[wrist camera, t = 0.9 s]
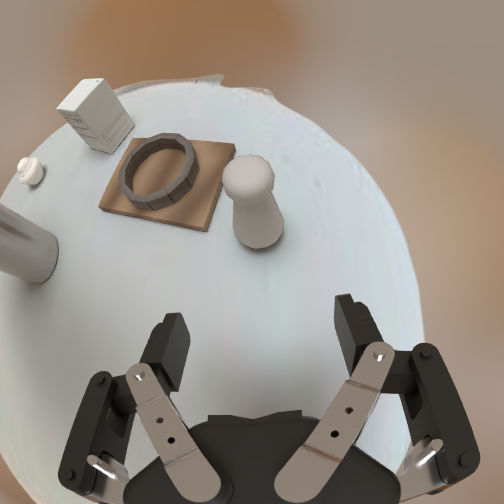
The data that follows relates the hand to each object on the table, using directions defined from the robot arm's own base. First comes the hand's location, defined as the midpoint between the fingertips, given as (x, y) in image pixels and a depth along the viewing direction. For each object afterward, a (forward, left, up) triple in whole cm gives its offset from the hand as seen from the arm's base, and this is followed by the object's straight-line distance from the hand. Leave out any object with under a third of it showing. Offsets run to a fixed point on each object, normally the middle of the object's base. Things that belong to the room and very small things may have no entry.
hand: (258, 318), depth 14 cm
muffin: (-54, +14, -17) cm, 58 cm away
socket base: (-20, +16, -17) cm, 30 cm away
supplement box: (-36, +24, -17) cm, 46 cm away
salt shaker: (-4, +11, -17) cm, 20 cm away
